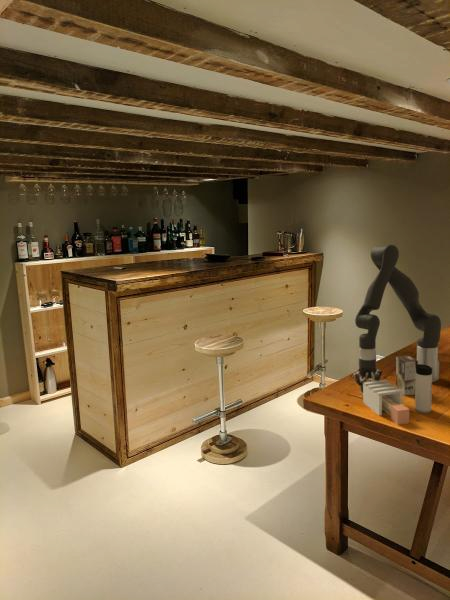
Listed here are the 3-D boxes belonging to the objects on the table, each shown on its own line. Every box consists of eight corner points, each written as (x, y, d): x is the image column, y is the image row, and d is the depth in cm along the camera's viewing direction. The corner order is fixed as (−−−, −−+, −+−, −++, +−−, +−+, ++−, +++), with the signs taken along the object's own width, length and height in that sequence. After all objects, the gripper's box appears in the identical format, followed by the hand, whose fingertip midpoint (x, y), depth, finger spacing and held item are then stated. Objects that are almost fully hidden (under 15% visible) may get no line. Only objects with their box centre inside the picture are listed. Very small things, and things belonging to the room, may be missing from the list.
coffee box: (417, 394, 205) (418, 360, 202) (404, 395, 205) (404, 361, 202) (408, 387, 214) (409, 354, 211) (395, 388, 214) (395, 355, 211)
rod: (367, 391, 211) (367, 382, 210) (398, 415, 186) (399, 405, 185) (360, 392, 210) (360, 383, 209) (391, 416, 185) (391, 406, 184)
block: (402, 417, 184) (402, 404, 183) (409, 423, 179) (409, 409, 178) (390, 419, 183) (390, 405, 182) (397, 424, 178) (397, 410, 177)
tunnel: (384, 399, 202) (384, 379, 200) (402, 412, 189) (402, 391, 187) (363, 402, 201) (363, 382, 199) (379, 415, 187) (379, 394, 185)
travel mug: (411, 408, 192) (412, 363, 188) (426, 406, 193) (427, 362, 189) (418, 414, 186) (419, 368, 182) (434, 412, 186) (435, 367, 183)
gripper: (377, 352, 209) (377, 387, 212) (349, 356, 206) (349, 391, 210) (386, 357, 202) (385, 393, 205) (356, 361, 199) (357, 397, 202)
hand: (367, 392), depth 207 cm, fingers closed on rod, 3 cm apart
